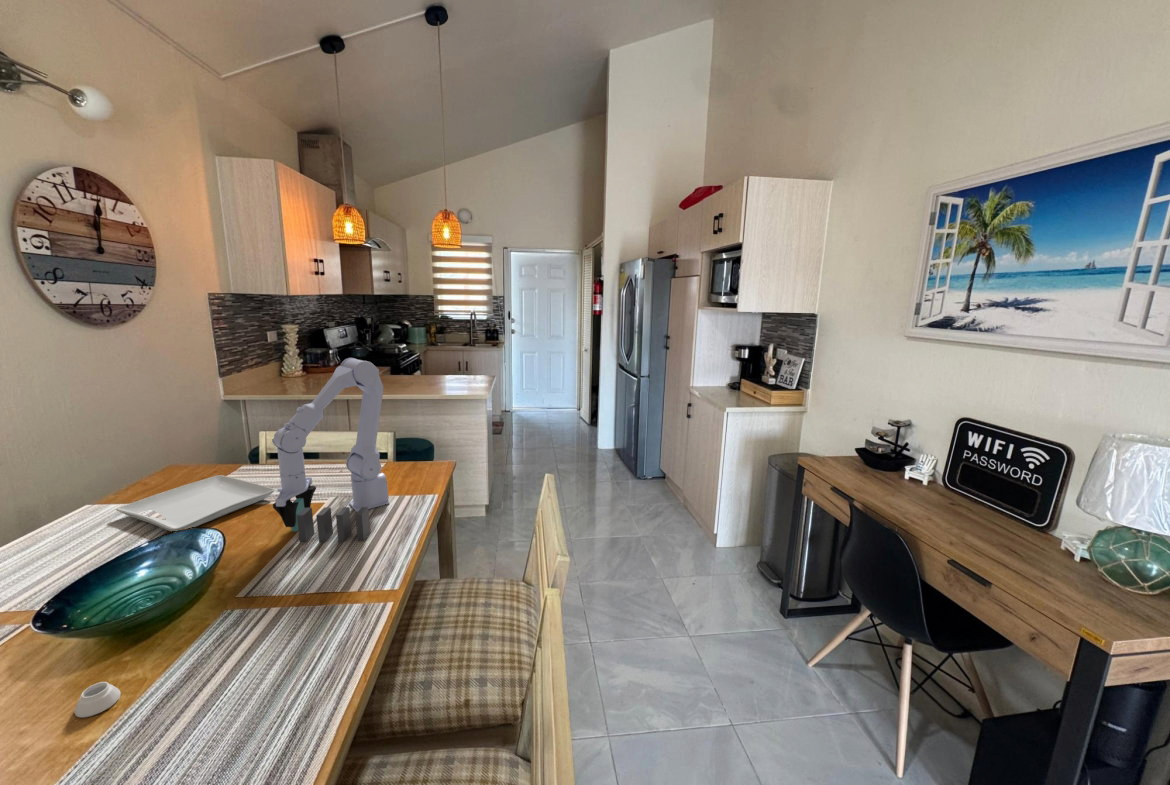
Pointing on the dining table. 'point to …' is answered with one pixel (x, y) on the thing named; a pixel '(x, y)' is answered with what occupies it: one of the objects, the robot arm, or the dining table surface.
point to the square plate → (197, 502)
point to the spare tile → (299, 509)
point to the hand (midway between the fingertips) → (297, 519)
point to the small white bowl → (96, 699)
